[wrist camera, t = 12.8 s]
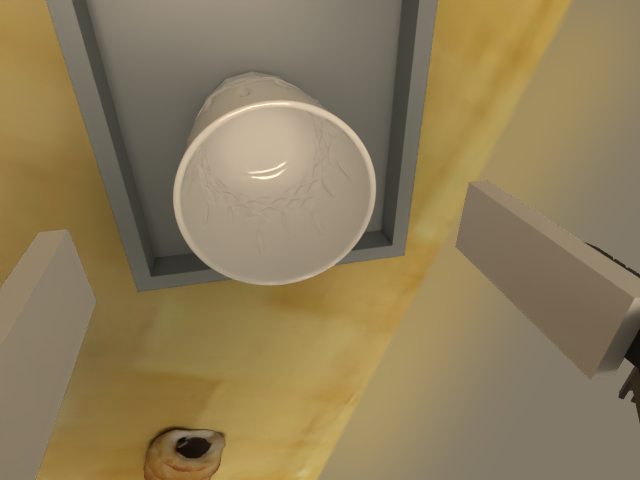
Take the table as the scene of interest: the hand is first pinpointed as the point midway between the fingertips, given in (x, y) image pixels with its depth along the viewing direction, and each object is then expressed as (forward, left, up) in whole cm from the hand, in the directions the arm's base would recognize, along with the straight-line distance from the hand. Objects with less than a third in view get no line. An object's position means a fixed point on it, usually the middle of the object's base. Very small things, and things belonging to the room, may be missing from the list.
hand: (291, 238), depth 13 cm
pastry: (-10, -31, -14) cm, 36 cm away
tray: (0, 0, -13) cm, 13 cm away
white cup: (0, 0, -13) cm, 13 cm away
